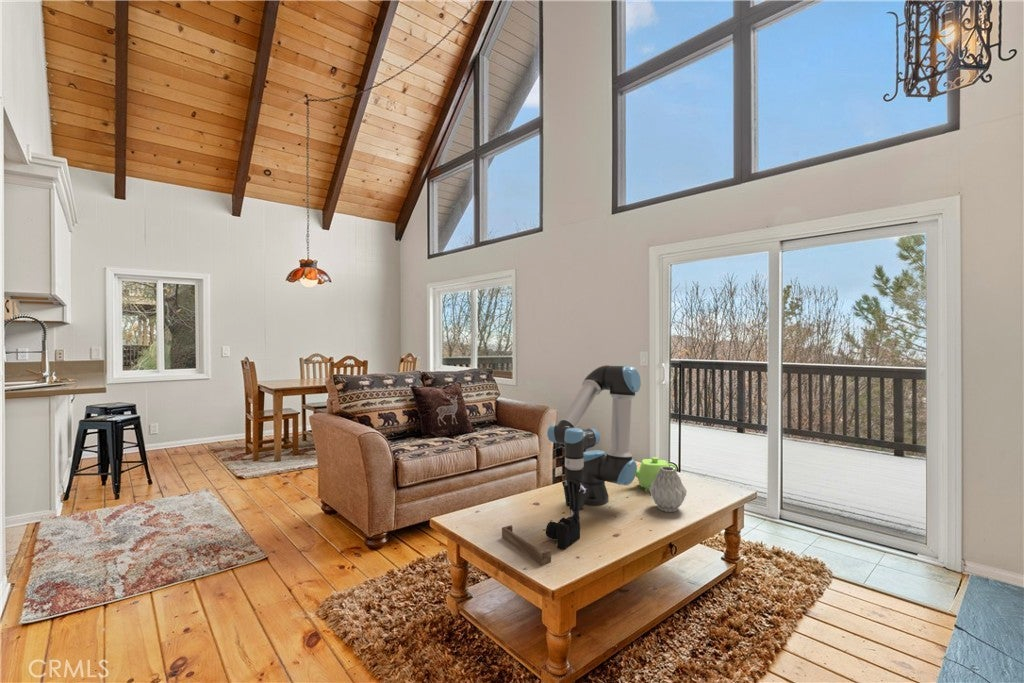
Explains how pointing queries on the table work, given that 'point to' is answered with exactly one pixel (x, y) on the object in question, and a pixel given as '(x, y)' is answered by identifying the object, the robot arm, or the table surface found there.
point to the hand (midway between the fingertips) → (574, 526)
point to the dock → (526, 546)
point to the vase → (667, 490)
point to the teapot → (650, 471)
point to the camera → (564, 531)
